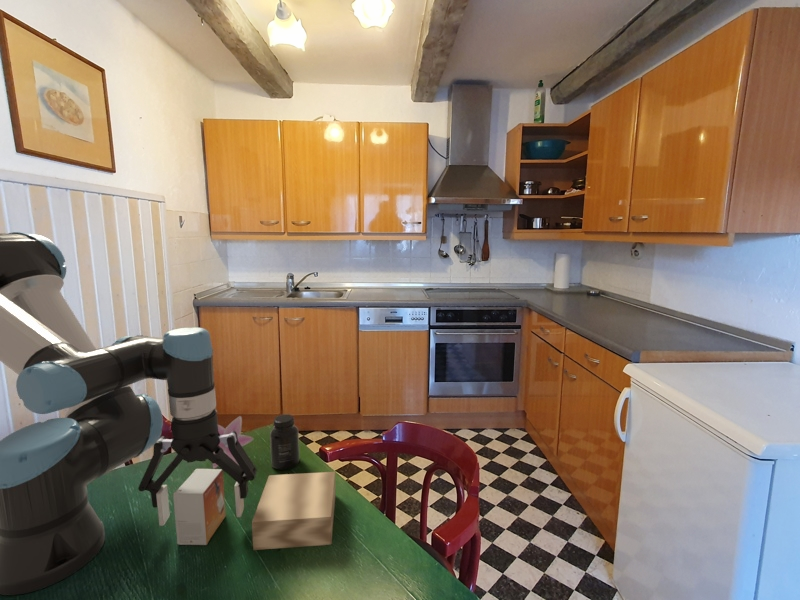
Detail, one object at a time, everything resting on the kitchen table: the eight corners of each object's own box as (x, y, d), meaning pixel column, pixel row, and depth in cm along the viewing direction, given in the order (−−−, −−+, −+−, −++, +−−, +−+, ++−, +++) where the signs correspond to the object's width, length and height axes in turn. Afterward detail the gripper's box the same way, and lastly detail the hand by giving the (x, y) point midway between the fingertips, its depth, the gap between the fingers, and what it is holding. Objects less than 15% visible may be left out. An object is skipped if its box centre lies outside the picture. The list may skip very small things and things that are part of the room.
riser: (253, 551, 71) (251, 522, 70) (270, 500, 84) (269, 475, 83) (331, 545, 72) (330, 516, 71) (335, 496, 86) (335, 471, 85)
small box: (206, 546, 71) (202, 494, 70) (176, 545, 71) (171, 493, 70) (226, 515, 79) (223, 468, 78) (199, 515, 79) (195, 467, 78)
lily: (191, 468, 97) (189, 446, 92) (218, 430, 107) (218, 408, 102) (236, 484, 97) (237, 463, 92) (259, 444, 107) (262, 423, 101)
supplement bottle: (304, 458, 100) (303, 414, 98) (290, 473, 94) (288, 426, 92) (281, 453, 102) (279, 410, 100) (265, 468, 96) (263, 422, 94)
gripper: (107, 427, 66) (121, 539, 69) (261, 416, 70) (267, 522, 73) (130, 408, 73) (141, 510, 76) (268, 399, 77) (273, 496, 80)
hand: (203, 516), depth 75 cm, fingers open, 13 cm apart
